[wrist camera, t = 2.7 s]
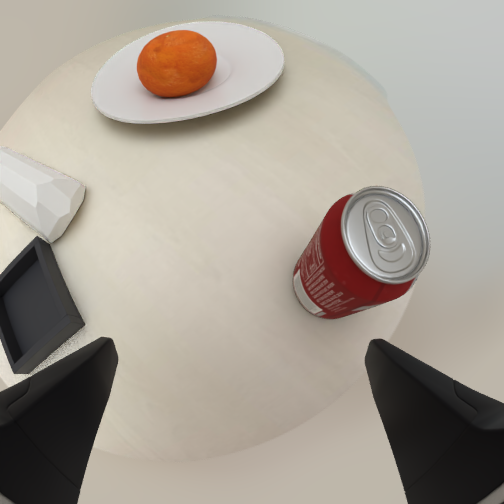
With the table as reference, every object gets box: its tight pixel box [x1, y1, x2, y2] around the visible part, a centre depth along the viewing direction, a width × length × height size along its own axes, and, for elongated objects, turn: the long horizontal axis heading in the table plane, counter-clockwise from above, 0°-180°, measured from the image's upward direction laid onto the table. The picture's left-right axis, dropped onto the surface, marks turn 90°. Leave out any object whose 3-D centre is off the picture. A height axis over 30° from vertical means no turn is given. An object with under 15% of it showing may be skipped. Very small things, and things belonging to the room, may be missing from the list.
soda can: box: [293, 186, 430, 319], centre depth 19 cm, size 7×7×12 cm
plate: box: [91, 21, 285, 124], centre depth 30 cm, size 28×28×9 cm
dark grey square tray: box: [0, 236, 85, 374], centre depth 21 cm, size 11×11×3 cm
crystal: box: [0, 146, 86, 243], centre depth 25 cm, size 7×7×24 cm
